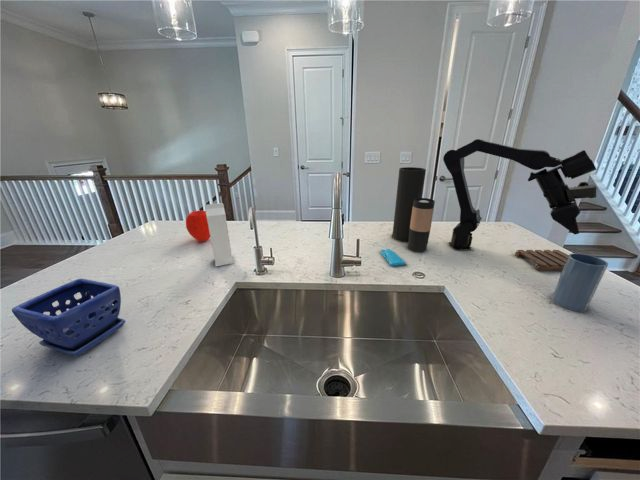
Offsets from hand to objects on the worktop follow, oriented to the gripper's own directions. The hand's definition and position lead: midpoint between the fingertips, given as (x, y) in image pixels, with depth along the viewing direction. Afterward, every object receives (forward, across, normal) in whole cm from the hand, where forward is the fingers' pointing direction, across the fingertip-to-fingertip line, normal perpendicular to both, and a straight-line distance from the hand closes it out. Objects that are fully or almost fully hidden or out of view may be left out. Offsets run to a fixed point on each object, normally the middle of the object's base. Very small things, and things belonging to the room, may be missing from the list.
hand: (575, 229), depth 83 cm
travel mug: (-14, -12, +45) cm, 49 cm away
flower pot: (-38, -110, +80) cm, 141 cm away
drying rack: (+10, +4, +11) cm, 15 cm away
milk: (-44, -68, +88) cm, 119 cm away
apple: (-59, -61, +109) cm, 138 cm away
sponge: (-16, -27, +48) cm, 57 cm away
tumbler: (+12, -23, +7) cm, 27 cm away
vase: (-19, -4, +52) cm, 56 cm away
